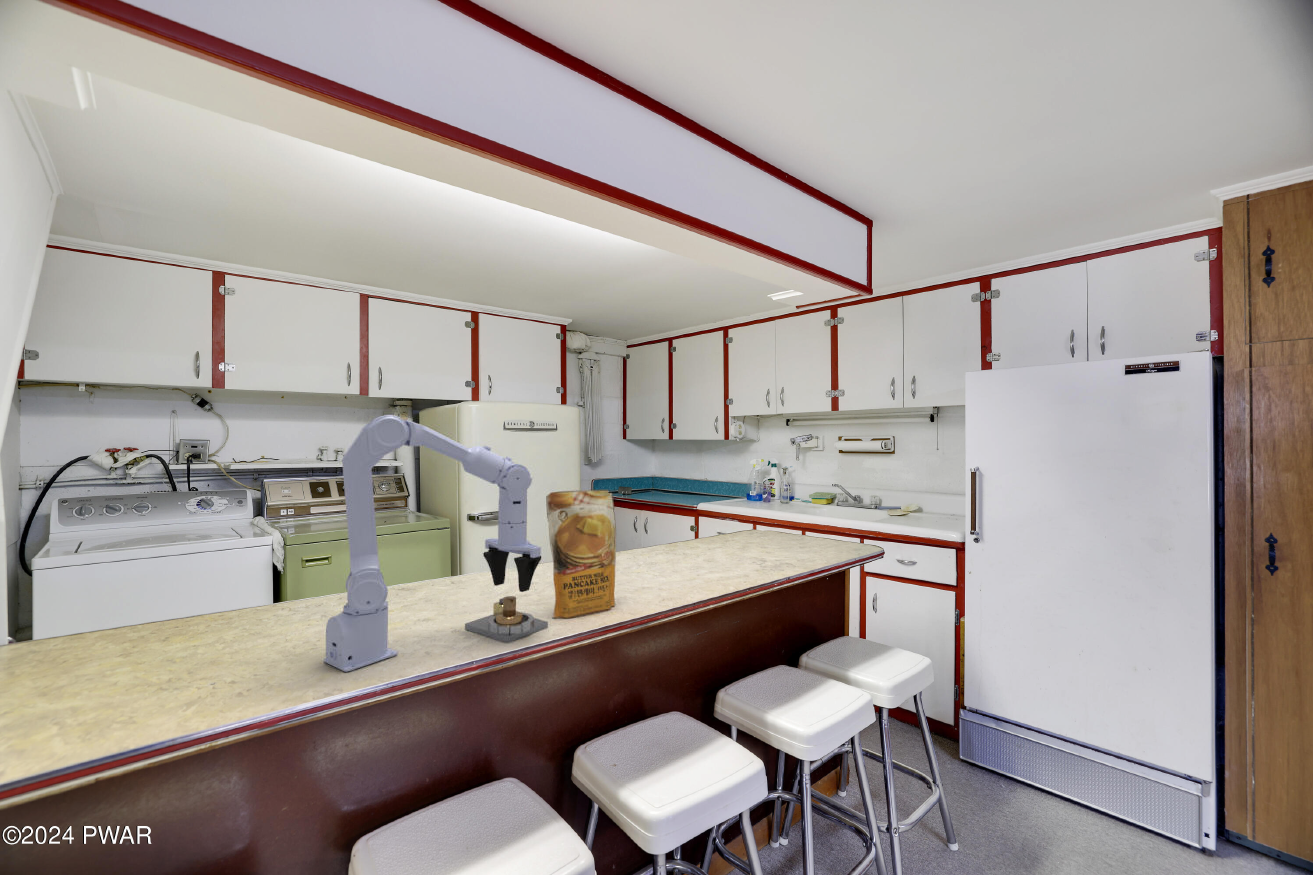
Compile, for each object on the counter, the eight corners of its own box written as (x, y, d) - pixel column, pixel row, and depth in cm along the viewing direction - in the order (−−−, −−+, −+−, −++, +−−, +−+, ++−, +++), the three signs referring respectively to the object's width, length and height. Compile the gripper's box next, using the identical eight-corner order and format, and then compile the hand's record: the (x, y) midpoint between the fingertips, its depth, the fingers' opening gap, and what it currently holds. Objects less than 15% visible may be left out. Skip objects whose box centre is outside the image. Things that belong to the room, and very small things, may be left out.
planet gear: (507, 633, 110) (507, 603, 110) (490, 627, 113) (491, 598, 113) (527, 626, 114) (527, 597, 114) (511, 621, 117) (511, 592, 117)
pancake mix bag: (538, 614, 125) (539, 491, 125) (610, 600, 136) (611, 487, 136) (551, 622, 120) (552, 494, 120) (625, 607, 131) (626, 489, 131)
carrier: (509, 643, 107) (509, 618, 107) (464, 629, 115) (465, 605, 115) (549, 627, 117) (549, 604, 117) (506, 615, 124) (506, 593, 124)
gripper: (552, 522, 113) (550, 589, 113) (503, 516, 121) (502, 577, 121) (526, 527, 107) (525, 597, 107) (477, 519, 115) (476, 584, 115)
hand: (511, 587), depth 114 cm, fingers open, 7 cm apart
